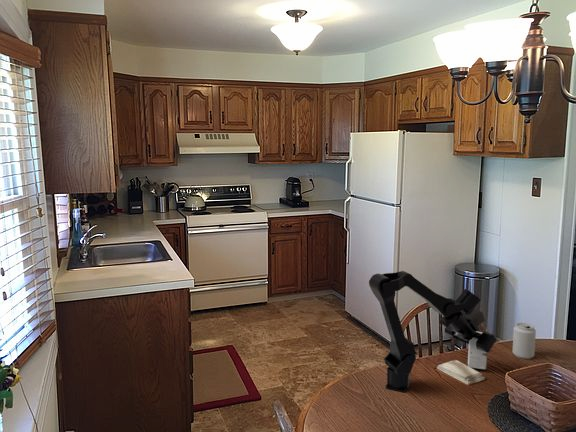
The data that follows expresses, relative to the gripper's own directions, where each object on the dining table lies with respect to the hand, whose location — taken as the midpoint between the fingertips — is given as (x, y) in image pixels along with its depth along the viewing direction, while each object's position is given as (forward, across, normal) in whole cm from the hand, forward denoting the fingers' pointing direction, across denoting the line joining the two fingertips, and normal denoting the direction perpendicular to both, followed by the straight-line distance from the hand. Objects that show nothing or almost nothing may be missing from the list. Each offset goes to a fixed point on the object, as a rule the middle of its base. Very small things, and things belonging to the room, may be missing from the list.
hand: (480, 347), depth 172 cm
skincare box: (+4, 0, +6) cm, 7 cm away
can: (+21, -1, -10) cm, 24 cm away
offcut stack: (-1, 0, +12) cm, 12 cm away
